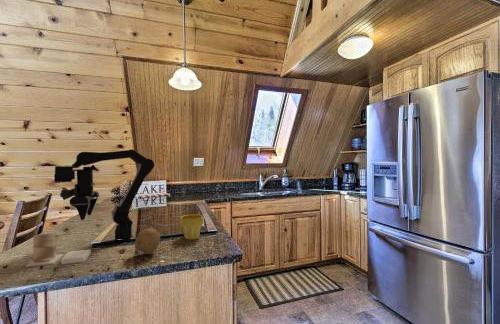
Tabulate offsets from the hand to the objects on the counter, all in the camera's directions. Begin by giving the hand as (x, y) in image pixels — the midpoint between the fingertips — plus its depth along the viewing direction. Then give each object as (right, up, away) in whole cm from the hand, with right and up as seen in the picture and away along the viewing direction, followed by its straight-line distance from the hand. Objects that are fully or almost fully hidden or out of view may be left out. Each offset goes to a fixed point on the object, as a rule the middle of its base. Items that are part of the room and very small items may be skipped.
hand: (86, 217), depth 107 cm
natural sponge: (+31, -12, -11) cm, 35 cm away
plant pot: (+43, -12, +10) cm, 46 cm away
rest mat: (-4, -12, -16) cm, 21 cm away
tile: (+5, -11, -11) cm, 16 cm away
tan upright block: (-4, -12, -16) cm, 21 cm away
